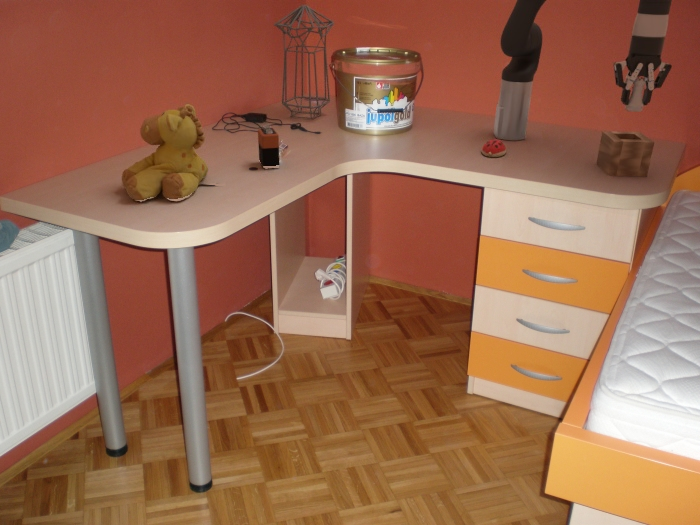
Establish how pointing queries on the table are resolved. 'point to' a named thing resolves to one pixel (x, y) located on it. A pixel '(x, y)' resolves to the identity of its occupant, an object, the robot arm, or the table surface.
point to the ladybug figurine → (494, 148)
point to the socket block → (624, 153)
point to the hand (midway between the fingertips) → (634, 104)
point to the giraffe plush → (168, 157)
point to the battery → (268, 146)
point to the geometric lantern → (294, 18)
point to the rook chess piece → (636, 96)
